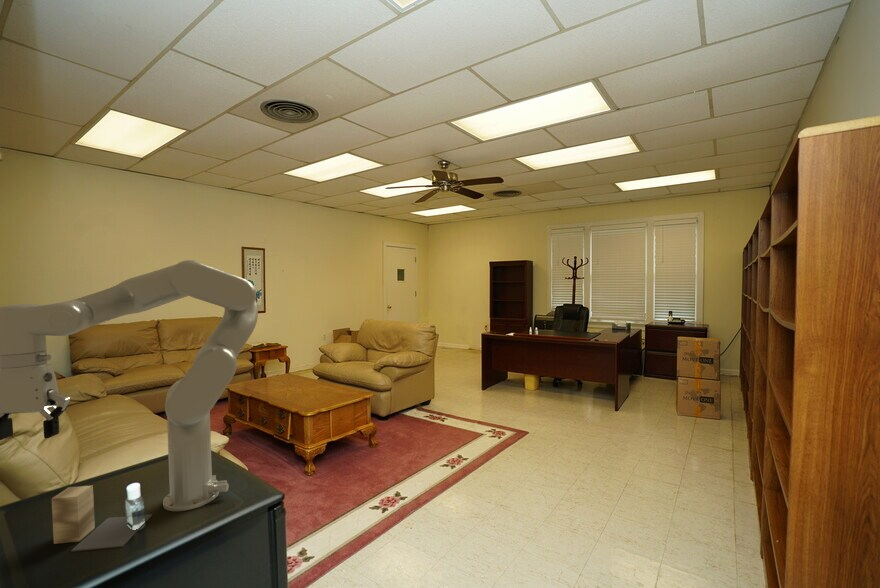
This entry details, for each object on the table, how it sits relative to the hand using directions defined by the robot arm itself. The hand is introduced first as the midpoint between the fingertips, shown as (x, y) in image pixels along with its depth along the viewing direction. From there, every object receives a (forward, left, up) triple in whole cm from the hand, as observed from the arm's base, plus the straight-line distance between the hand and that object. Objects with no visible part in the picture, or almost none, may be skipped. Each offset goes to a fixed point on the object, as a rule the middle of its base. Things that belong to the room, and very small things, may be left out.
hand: (28, 437), depth 92 cm
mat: (-17, +1, -23) cm, 28 cm away
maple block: (-9, +1, -23) cm, 24 cm away
